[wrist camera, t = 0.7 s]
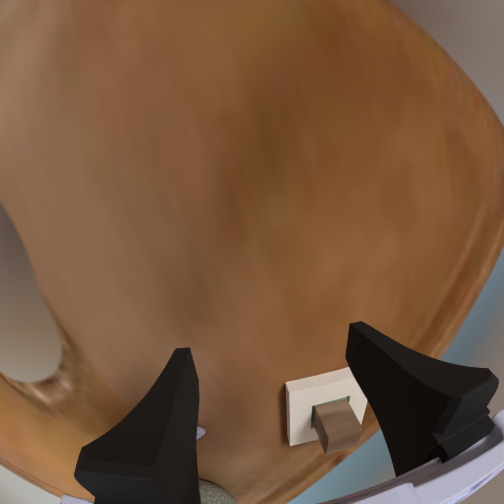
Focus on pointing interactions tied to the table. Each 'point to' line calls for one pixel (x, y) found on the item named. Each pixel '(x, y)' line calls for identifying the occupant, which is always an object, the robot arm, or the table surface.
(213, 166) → the table surface
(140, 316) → the table surface
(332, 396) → the sleeve block
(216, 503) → the planter
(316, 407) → the post
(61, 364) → the table surface
